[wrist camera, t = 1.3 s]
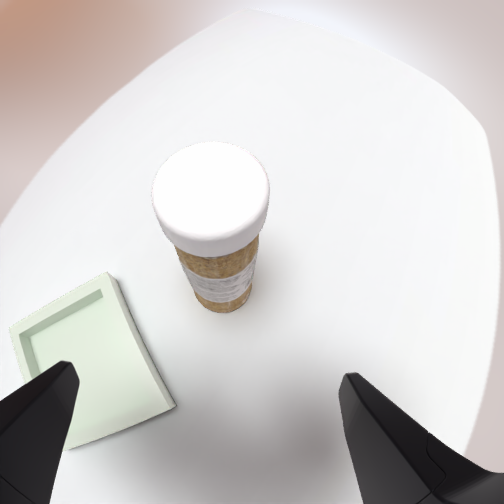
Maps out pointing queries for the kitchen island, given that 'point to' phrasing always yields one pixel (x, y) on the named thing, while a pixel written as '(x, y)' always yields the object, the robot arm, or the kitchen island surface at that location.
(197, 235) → the sprinkles bottle
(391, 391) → the kitchen island surface
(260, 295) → the kitchen island surface
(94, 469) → the kitchen island surface
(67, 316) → the tray
